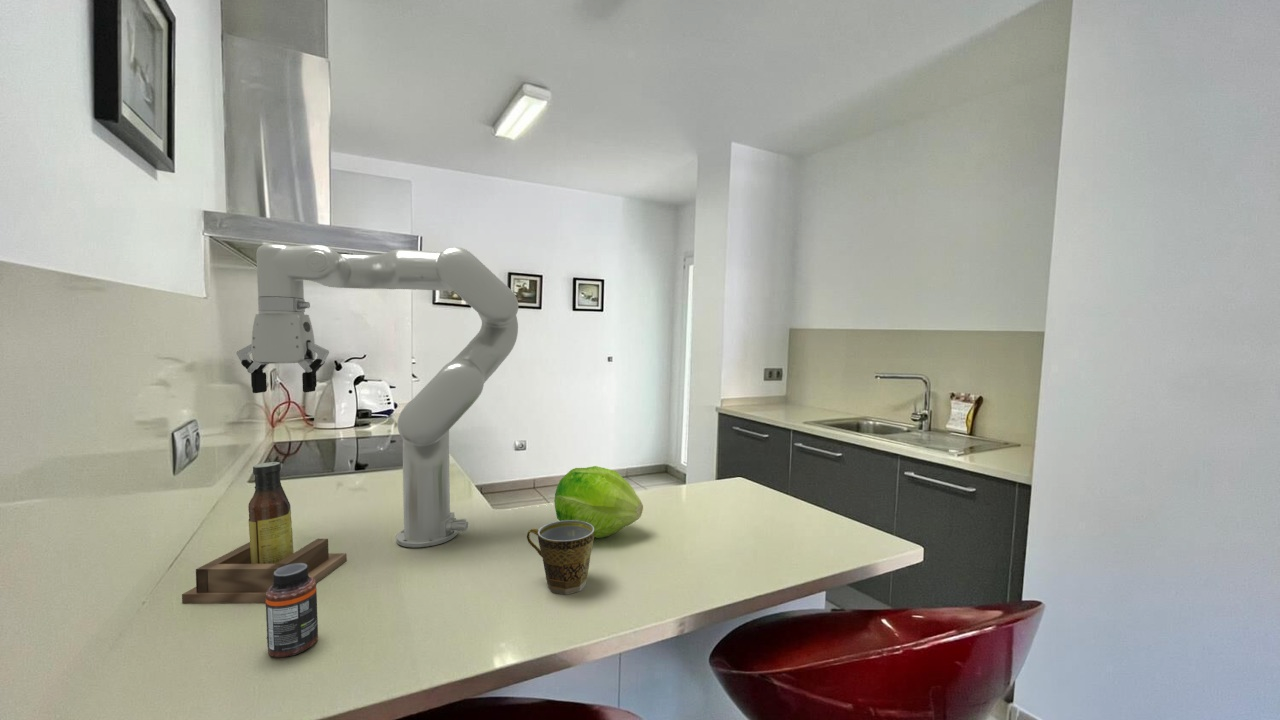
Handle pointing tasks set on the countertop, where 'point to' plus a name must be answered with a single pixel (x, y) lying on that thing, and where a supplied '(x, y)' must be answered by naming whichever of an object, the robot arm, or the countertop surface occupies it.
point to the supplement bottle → (291, 611)
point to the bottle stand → (255, 574)
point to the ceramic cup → (565, 554)
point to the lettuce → (597, 500)
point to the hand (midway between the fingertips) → (284, 392)
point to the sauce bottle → (269, 517)
